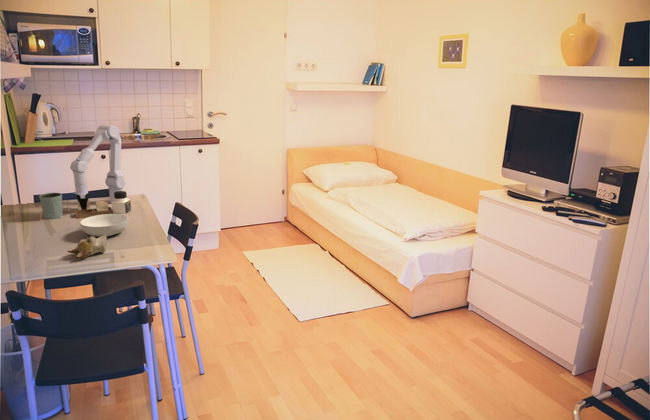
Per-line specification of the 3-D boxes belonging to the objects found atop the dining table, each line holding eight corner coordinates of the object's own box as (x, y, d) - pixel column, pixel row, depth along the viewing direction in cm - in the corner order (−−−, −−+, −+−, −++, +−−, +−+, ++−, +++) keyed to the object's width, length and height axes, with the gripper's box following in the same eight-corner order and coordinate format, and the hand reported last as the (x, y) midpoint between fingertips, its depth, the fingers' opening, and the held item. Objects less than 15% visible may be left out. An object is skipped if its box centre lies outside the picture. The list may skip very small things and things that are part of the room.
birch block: (78, 211, 273) (77, 200, 272) (89, 210, 276) (88, 199, 274) (78, 213, 270) (77, 201, 268) (90, 211, 272) (88, 200, 270)
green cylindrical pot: (68, 215, 268) (65, 193, 264) (57, 221, 258) (53, 198, 254) (50, 214, 268) (47, 192, 265) (38, 220, 259) (34, 197, 255)
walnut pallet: (75, 215, 268) (74, 209, 267) (111, 211, 275) (110, 206, 274) (76, 220, 259) (75, 215, 258) (112, 216, 266) (112, 211, 266)
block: (97, 212, 269) (95, 201, 267) (108, 211, 271) (107, 200, 270) (97, 214, 266) (96, 203, 264) (109, 213, 268) (107, 202, 266)
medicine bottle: (126, 215, 269) (124, 193, 265) (112, 215, 269) (110, 193, 266) (131, 211, 276) (129, 189, 272) (118, 211, 276) (116, 189, 272)
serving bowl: (138, 229, 248) (137, 215, 246) (110, 243, 229) (108, 228, 227) (102, 225, 253) (100, 211, 251) (71, 238, 234) (69, 224, 232)
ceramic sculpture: (110, 234, 214) (72, 244, 204) (113, 253, 216) (76, 264, 207) (100, 228, 221) (63, 238, 211) (104, 247, 224) (67, 257, 214)
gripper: (71, 181, 273) (75, 205, 277) (72, 187, 260) (75, 212, 264) (86, 180, 276) (89, 204, 280) (87, 185, 264) (90, 211, 267)
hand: (83, 208), depth 272 cm, fingers open, 6 cm apart
